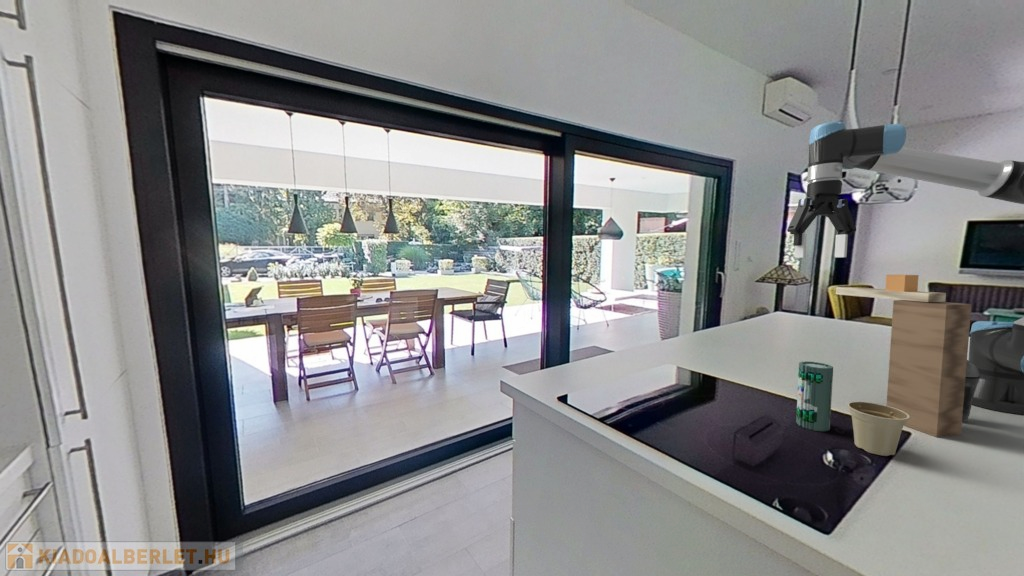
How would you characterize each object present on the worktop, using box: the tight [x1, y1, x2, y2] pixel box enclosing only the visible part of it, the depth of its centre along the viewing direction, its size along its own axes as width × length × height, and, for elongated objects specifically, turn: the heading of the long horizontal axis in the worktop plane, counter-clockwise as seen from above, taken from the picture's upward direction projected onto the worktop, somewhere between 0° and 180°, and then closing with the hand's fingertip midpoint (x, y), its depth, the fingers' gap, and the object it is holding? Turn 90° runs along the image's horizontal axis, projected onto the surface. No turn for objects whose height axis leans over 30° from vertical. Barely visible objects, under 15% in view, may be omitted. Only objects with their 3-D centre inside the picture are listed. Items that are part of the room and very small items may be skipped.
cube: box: [885, 274, 919, 292], centre depth 93 cm, size 4×4×4 cm
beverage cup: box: [962, 359, 980, 424], centre depth 93 cm, size 7×7×20 cm
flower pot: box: [847, 400, 910, 457], centre depth 79 cm, size 9×9×9 cm
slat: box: [835, 286, 947, 302], centre depth 97 cm, size 5×21×2 cm, turn 9°
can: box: [795, 360, 834, 432], centre depth 90 cm, size 6×6×15 cm
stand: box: [885, 299, 972, 438], centre depth 89 cm, size 7×10×30 cm
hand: (820, 257), depth 107 cm, fingers open, 13 cm apart
